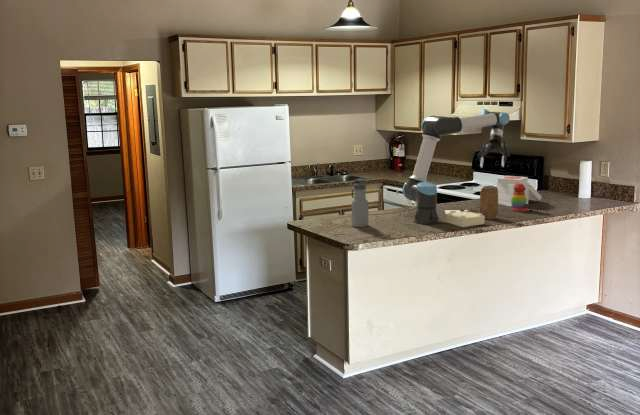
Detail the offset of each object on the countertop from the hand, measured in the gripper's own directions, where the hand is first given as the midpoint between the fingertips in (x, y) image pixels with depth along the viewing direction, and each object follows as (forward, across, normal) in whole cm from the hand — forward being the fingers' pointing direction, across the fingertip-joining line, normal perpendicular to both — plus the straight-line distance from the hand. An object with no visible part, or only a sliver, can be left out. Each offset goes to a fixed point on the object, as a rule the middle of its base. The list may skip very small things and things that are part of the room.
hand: (491, 166), depth 386 cm
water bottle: (+60, +59, +42) cm, 94 cm away
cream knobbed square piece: (+43, +8, +10) cm, 45 cm away
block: (+33, 0, -6) cm, 34 cm away
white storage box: (-1, -2, -54) cm, 54 cm away
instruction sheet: (+27, +24, -10) cm, 38 cm away
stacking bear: (+15, -9, -34) cm, 38 cm away
